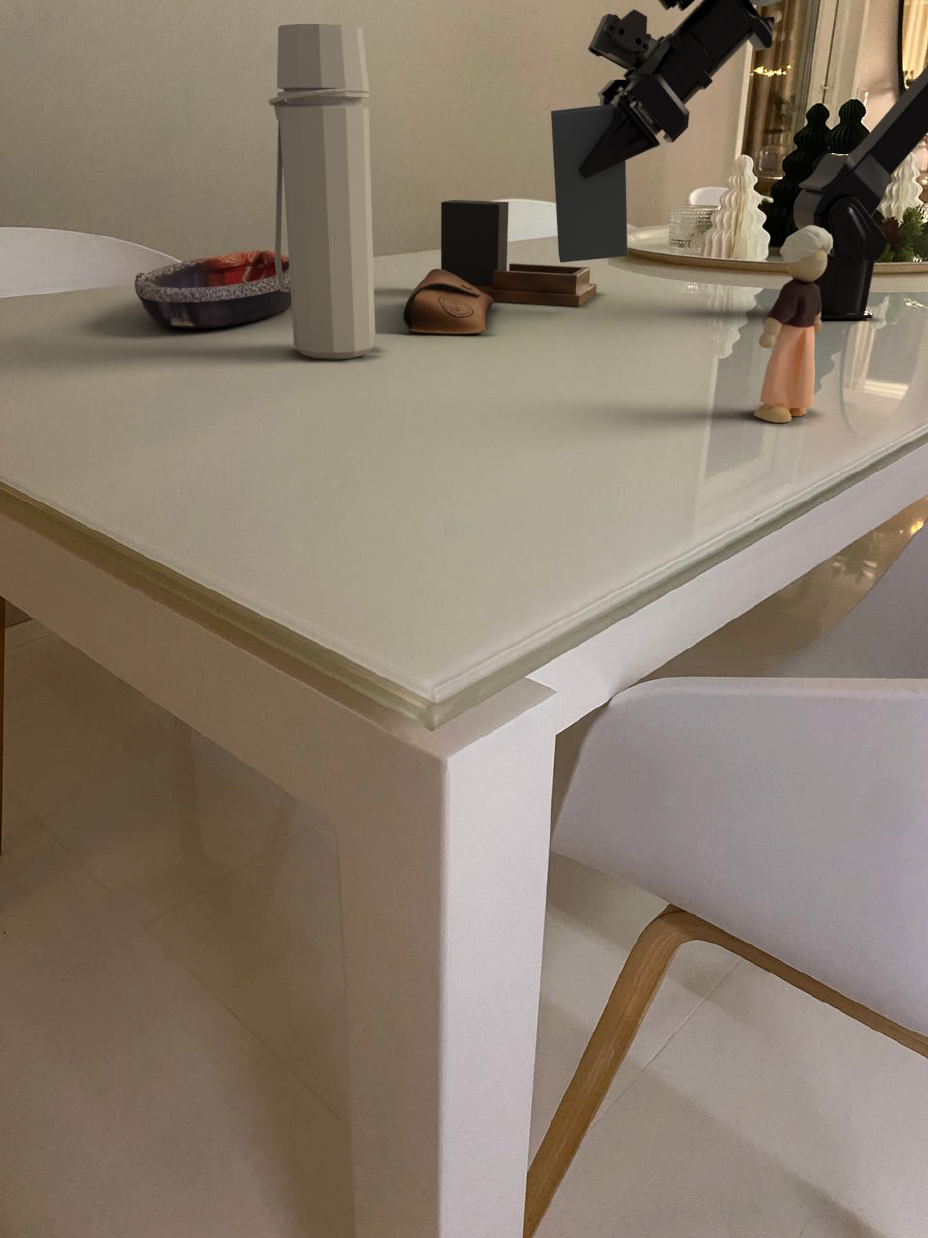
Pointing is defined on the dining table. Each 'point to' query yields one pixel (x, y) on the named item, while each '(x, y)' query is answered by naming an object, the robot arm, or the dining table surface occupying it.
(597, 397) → the dining table surface
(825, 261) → the grandmother figurine
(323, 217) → the water bottle
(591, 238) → the back pad
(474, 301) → the sunglasses case
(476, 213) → the pad cradle
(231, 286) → the dish
